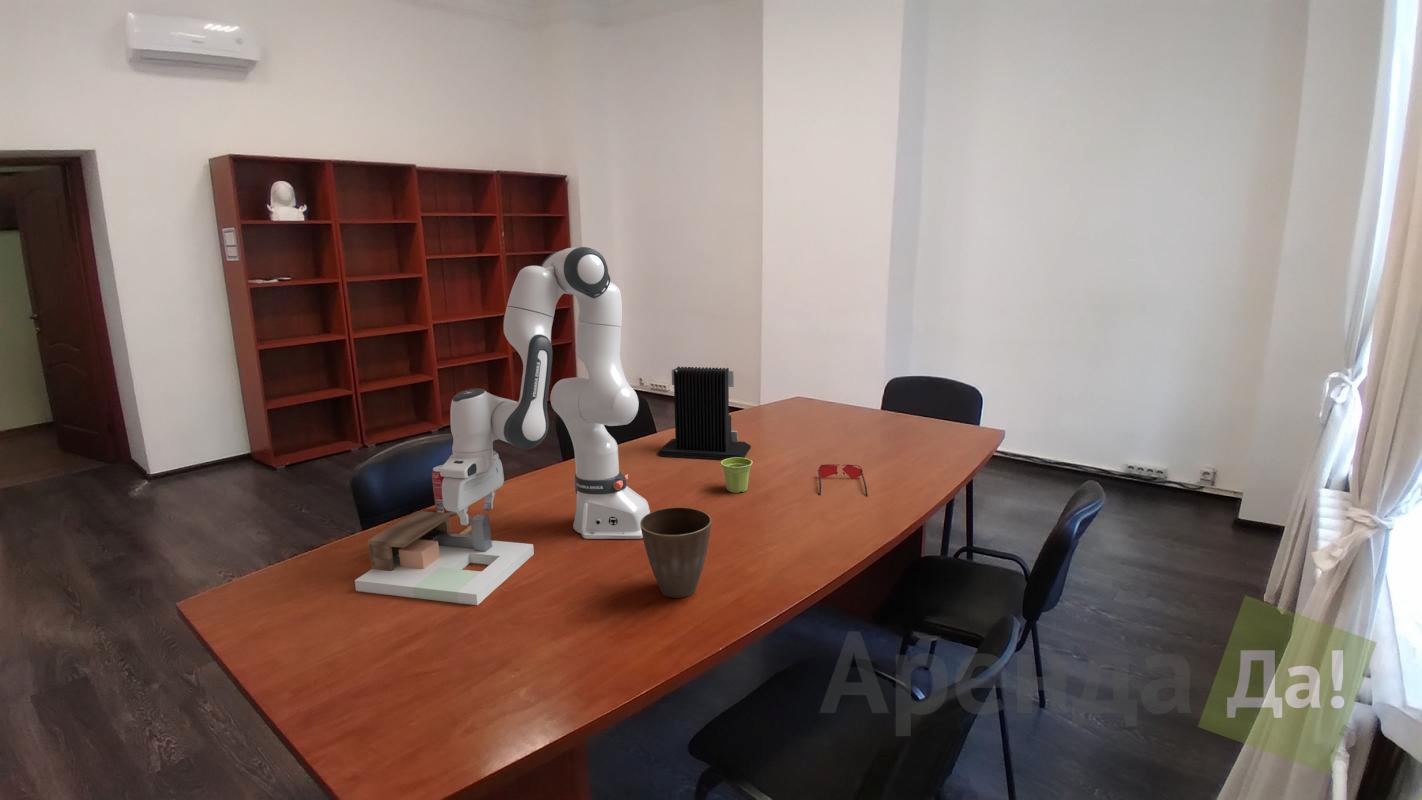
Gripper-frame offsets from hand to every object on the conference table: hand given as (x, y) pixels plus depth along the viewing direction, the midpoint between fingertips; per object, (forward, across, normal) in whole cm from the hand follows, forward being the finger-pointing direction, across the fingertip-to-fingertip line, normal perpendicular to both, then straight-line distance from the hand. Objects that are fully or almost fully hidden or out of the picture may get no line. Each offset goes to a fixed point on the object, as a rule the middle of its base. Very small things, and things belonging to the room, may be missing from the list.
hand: (477, 516), depth 168 cm
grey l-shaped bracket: (+8, +1, -5) cm, 10 cm away
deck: (+11, +7, -4) cm, 14 cm away
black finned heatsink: (+8, -95, +31) cm, 100 cm away
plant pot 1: (+11, +4, +50) cm, 51 cm away
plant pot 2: (+9, -59, +50) cm, 78 cm away
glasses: (+8, -68, +80) cm, 105 cm away
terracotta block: (+9, +8, -10) cm, 16 cm away
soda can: (+10, -26, -25) cm, 37 cm away
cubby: (+9, +5, -14) cm, 17 cm away
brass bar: (+11, -13, -11) cm, 20 cm away
